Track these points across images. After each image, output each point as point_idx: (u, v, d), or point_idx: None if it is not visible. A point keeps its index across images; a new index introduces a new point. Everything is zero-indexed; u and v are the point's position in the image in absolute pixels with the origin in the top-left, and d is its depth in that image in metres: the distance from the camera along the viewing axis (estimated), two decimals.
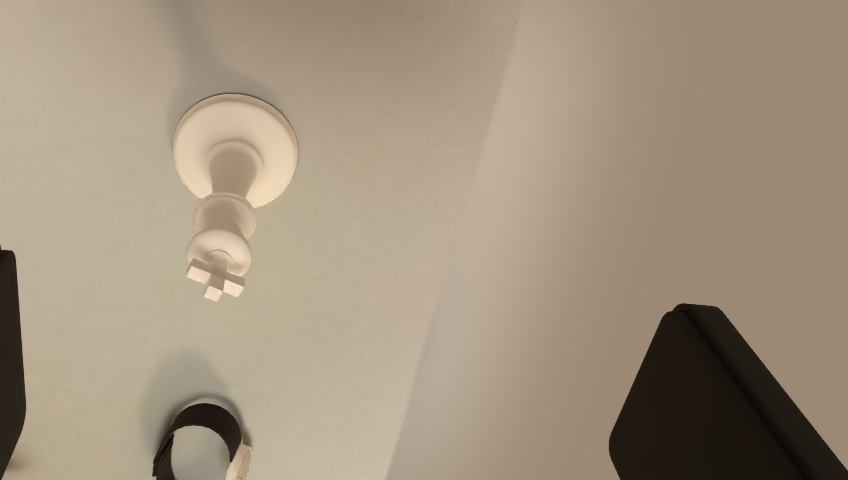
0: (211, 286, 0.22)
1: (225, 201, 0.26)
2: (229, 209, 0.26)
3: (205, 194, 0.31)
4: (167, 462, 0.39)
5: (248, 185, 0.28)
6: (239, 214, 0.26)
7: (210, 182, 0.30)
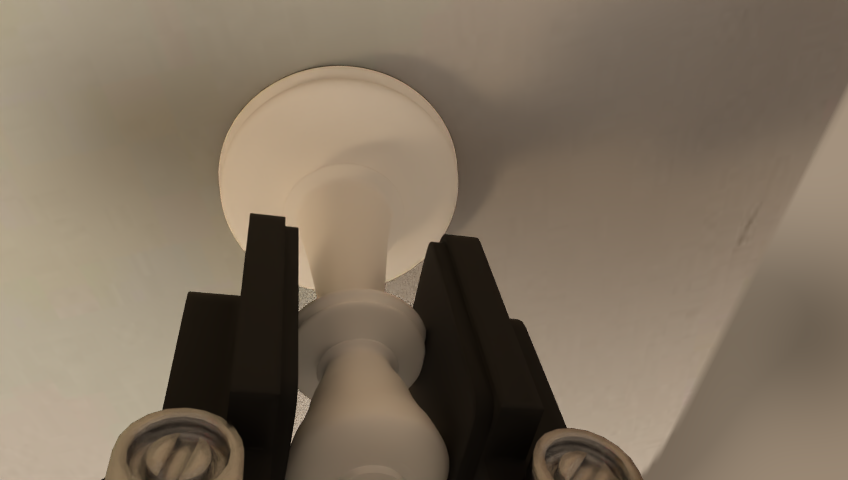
0: None
1: (414, 362, 0.11)
2: (395, 372, 0.11)
3: (262, 143, 0.14)
4: None
5: None
6: None
7: (313, 177, 0.14)
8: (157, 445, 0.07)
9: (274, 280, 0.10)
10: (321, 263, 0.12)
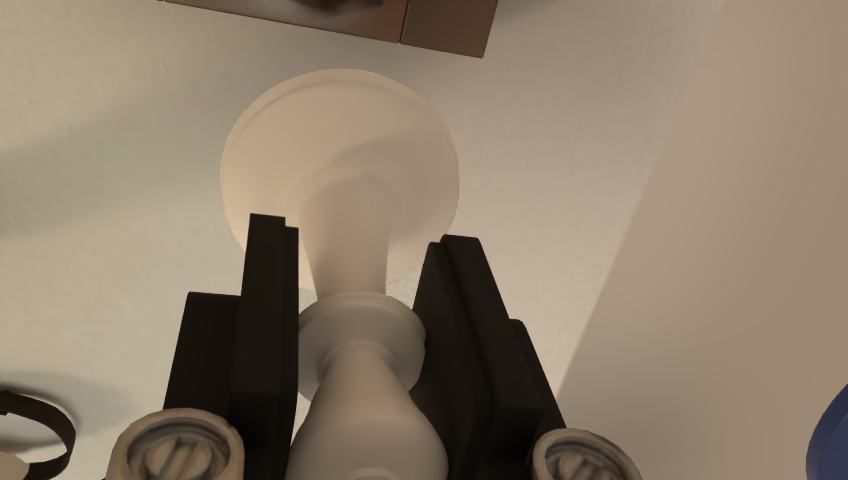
0: None
1: (414, 364, 0.11)
2: (395, 373, 0.11)
3: (264, 146, 0.14)
4: None
5: None
6: None
7: (314, 179, 0.14)
8: (157, 445, 0.07)
9: (274, 280, 0.10)
10: (321, 265, 0.13)
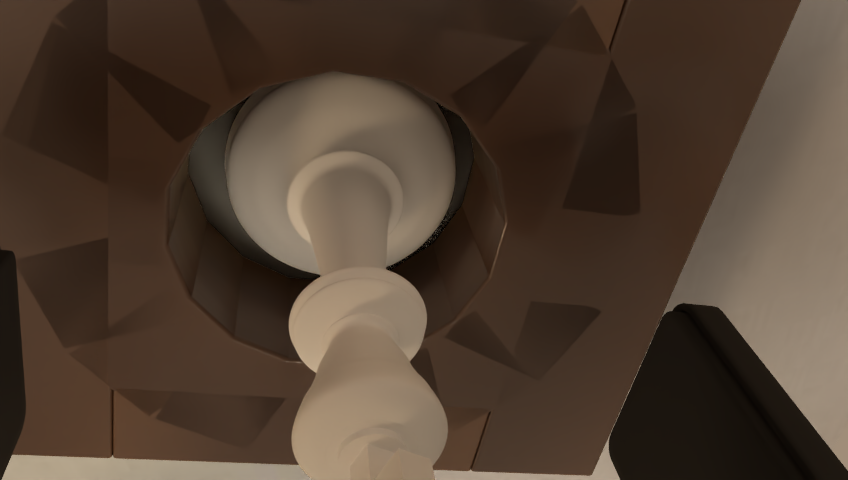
0: None
1: (414, 336, 0.12)
2: None
3: (267, 132, 0.15)
4: None
5: None
6: None
7: (316, 163, 0.15)
8: None
9: None
10: (325, 244, 0.13)
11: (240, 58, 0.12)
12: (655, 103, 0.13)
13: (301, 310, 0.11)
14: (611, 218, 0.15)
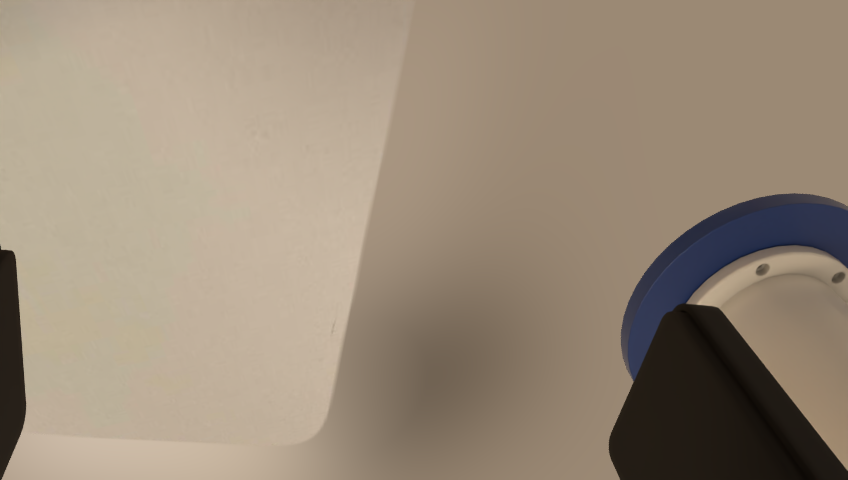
0: None
1: None
2: None
3: None
4: None
5: None
6: None
7: None
8: None
9: None
10: None
11: None
12: None
13: None
14: None
